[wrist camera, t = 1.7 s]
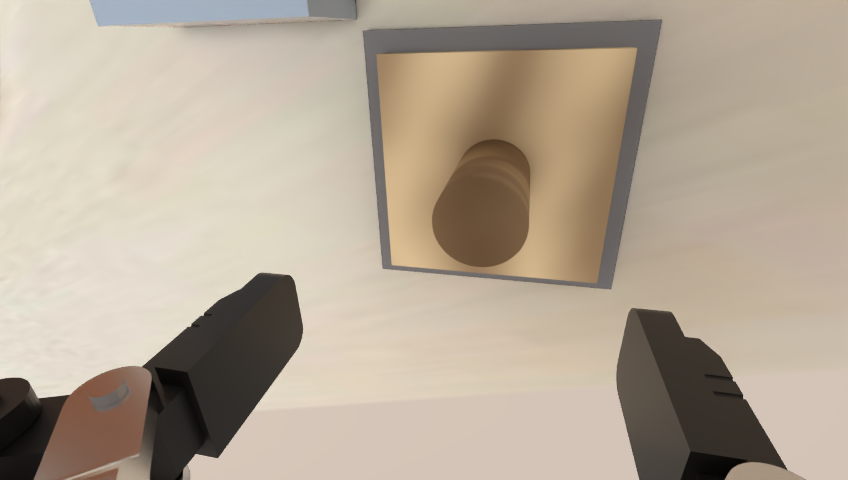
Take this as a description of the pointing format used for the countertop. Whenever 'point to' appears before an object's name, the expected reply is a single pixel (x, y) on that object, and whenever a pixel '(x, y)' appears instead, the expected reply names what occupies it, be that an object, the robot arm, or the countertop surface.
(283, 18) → the dish
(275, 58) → the countertop surface
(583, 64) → the lid
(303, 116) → the countertop surface
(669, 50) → the countertop surface
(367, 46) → the mat
